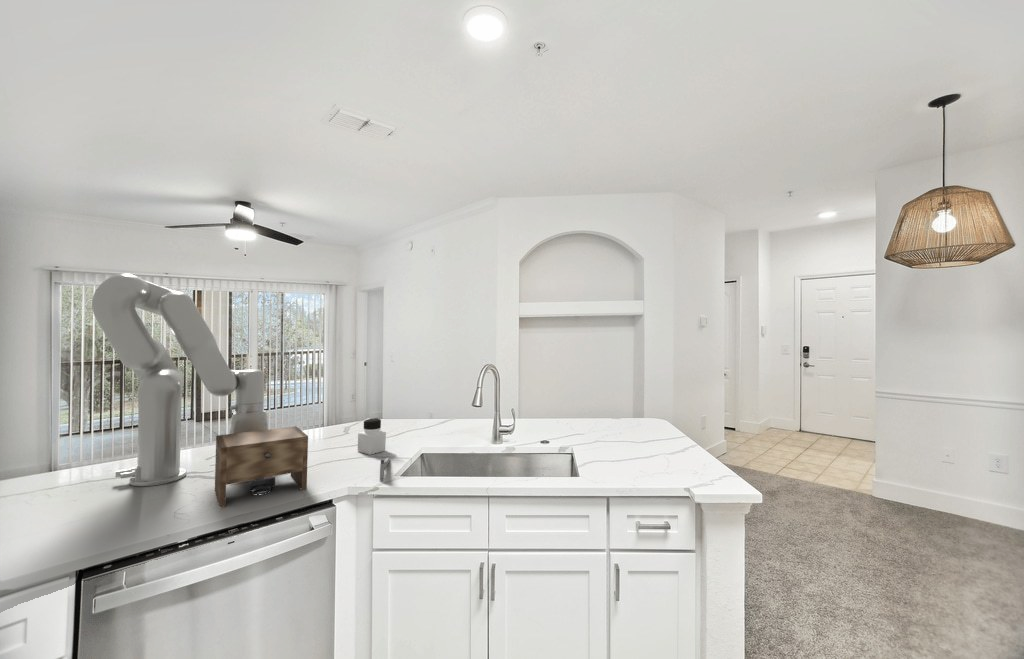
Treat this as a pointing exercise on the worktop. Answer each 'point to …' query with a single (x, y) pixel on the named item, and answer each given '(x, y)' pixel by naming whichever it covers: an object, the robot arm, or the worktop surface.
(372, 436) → the medicine bottle
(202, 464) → the worktop surface
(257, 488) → the steel token
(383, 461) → the caliper
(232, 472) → the walnut cabinet
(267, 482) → the scraper
